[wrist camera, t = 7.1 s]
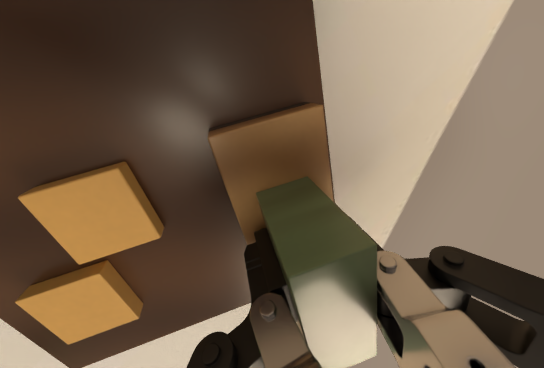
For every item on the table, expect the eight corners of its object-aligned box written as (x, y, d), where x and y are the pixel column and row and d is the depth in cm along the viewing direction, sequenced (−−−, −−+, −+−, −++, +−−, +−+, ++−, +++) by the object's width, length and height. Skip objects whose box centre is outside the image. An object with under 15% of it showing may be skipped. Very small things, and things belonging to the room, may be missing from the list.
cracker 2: (29, 285, 11) (13, 302, 10) (107, 259, 12) (99, 273, 11) (77, 327, 13) (67, 345, 12) (144, 303, 14) (139, 318, 13)
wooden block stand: (208, 128, 10) (196, 194, 4) (305, 101, 11) (428, 121, 5) (266, 289, 16) (300, 423, 9) (329, 265, 16) (400, 377, 10)
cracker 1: (33, 186, 9) (15, 197, 9) (126, 160, 10) (117, 167, 9) (89, 251, 11) (78, 266, 10) (165, 227, 12) (161, 238, 11)
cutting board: (-338, 13, 6) (-449, -1, 5) (289, -94, 9) (300, -119, 8) (82, 351, 15) (72, 371, 14) (334, 257, 18) (342, 268, 17)
